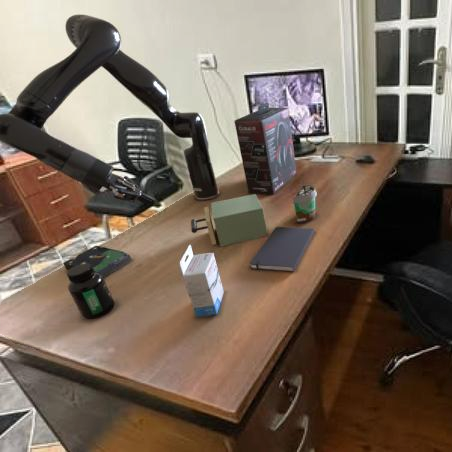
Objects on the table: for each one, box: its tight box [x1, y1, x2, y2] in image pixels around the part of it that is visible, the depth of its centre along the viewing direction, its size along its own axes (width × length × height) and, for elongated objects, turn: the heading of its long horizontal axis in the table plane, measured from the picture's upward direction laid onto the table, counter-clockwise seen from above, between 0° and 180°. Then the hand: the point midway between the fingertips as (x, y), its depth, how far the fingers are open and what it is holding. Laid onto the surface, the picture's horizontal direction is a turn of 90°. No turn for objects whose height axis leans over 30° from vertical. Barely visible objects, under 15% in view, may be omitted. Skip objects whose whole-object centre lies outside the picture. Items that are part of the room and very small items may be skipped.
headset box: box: [233, 101, 297, 195], centre depth 144 cm, size 25×12×33 cm, turn 162°
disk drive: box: [63, 245, 132, 278], centre depth 101 cm, size 10×3×15 cm
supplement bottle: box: [66, 264, 116, 321], centre depth 81 cm, size 7×7×12 cm
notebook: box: [249, 226, 315, 273], centre depth 103 cm, size 13×2×21 cm
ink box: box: [178, 244, 225, 318], centre depth 79 cm, size 9×5×15 cm, turn 5°
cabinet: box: [210, 193, 268, 247], centre depth 112 cm, size 15×13×10 cm
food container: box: [292, 183, 318, 224], centre depth 118 cm, size 12×6×10 cm, turn 168°
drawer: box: [190, 206, 217, 245], centre depth 111 cm, size 18×11×8 cm, turn 111°
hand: (153, 202), depth 101 cm, fingers closed
